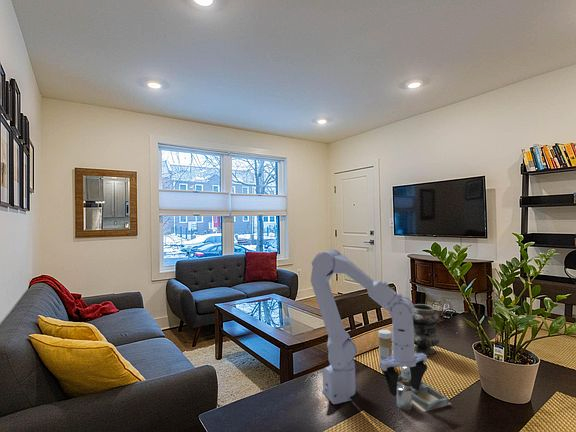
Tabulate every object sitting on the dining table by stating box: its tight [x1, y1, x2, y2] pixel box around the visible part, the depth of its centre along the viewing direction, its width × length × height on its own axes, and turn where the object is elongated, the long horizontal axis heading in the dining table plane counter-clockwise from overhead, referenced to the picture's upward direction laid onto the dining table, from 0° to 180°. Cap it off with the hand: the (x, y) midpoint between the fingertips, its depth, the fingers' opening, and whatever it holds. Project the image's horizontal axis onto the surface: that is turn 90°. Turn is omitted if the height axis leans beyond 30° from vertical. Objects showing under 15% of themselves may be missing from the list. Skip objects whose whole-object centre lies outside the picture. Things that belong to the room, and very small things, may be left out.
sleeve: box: [396, 385, 413, 411], centre depth 89 cm, size 5×5×6 cm
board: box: [397, 374, 452, 412], centre depth 95 cm, size 10×16×3 cm, turn 19°
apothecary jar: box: [412, 303, 441, 358], centre depth 127 cm, size 12×12×18 cm
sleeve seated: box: [400, 366, 412, 387], centre depth 99 cm, size 5×5×6 cm
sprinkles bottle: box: [377, 329, 393, 362], centre depth 113 cm, size 5×5×13 cm
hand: (404, 391), depth 89 cm, fingers open, 7 cm apart
